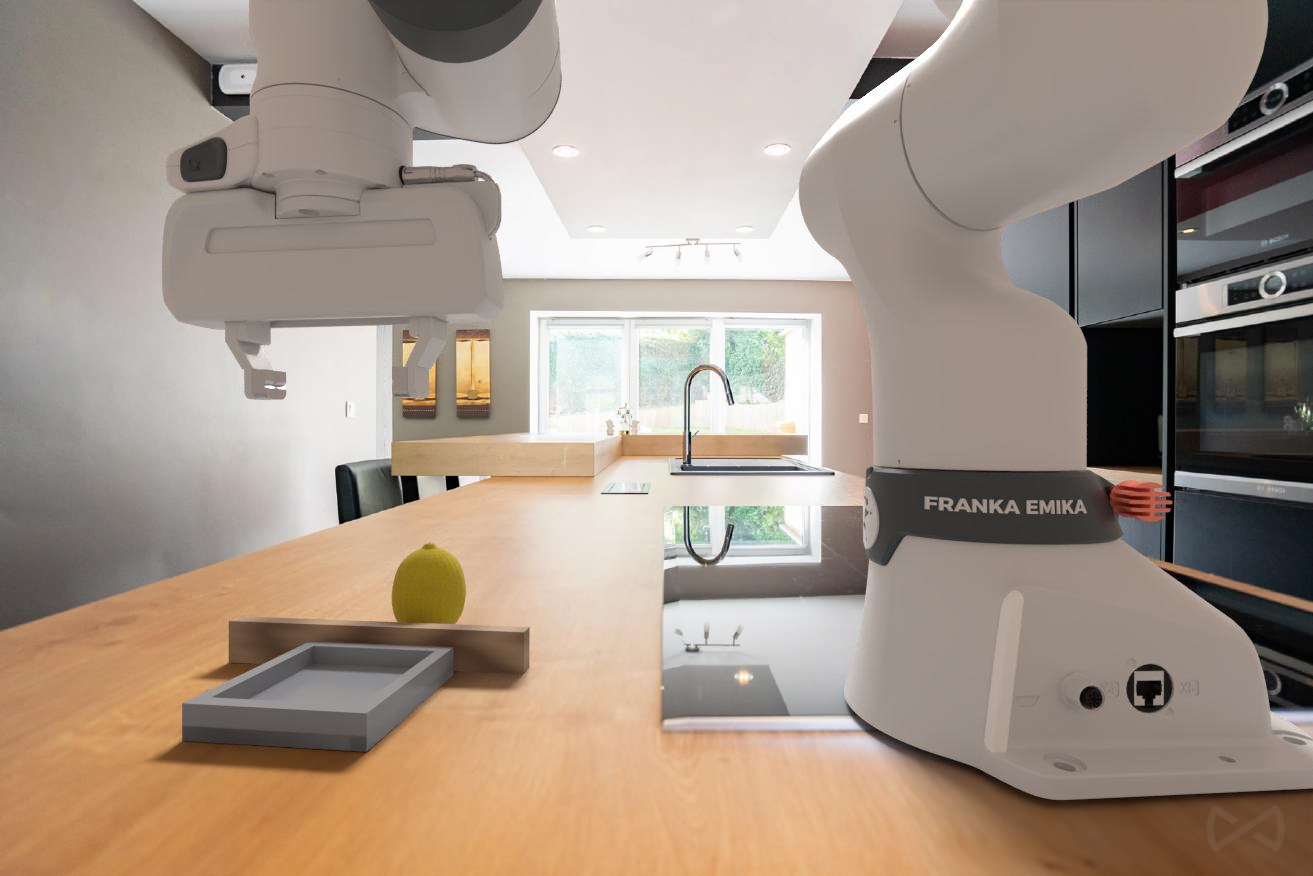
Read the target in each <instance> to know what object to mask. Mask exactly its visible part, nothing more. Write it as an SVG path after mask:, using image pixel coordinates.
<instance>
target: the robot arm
mask: <svg viewBox="0 0 1313 876" xmlns="http://www.w3.org/2000/svg"><path fill="white" fill-rule="evenodd" d="M932 1H933V3H934V4H935V6H936V8H937V9H938V10H939V12H941V14H943V16H945V18H947V19H948V20H949V21H950V22H951V23H950V24H949V26H948V27H947V28H946V29H945V30H944V32H943V34H942V35H941V36H940V37H939V39H937V41H936V42H935V43H933V44H932V45H931V46H930V47H928V48H927V49H926V50H925V51H924V52H923V53H922V54H921V55H920V56H918V57H917V58H915V59H914V60H913V61H911V62H909V63H908V64H907V65H906V66H904V67H903V68H902V69H900V70H899V71H898V72H896V73H894V75H892V76H890V77H889V78H888V79H886V80H885V81H884V82H882V83H881V84H880V85H878V86H877V87H875V88H874V89H872V90H871V91H870V92H868V93H867V94H866V95H865V96H863V97H862V98H860V99H859V100H857V101H856V102H855V103H853V104H852V105H851V106H849V108H847V110H845V111H844V113H842V115H840V117H839V119H837V120H836V122H835V123H834V124H833V125H832V126H831V128H830V129H828V131H827V132H826V133H825V134H824V136H823V137H822V138H821V139H820V141H818V143H817V144H816V146H815V147H814V148H813V149H812V150H811V152H810V153H809V154H808V156H807V157H806V159H805V161H804V164H803V166H802V169H801V172H800V176H799V183H798V202H799V208H800V211H801V216H802V219H803V221H804V223H805V225H806V226H805V227H806V228H807V230H808V232H809V233H810V235H811V237H812V238H813V240H814V241H815V242H816V243H817V244H818V245H819V247H820V248H821V250H823V251H825V252H826V253H827V254H829V255H830V256H831V257H833V258H835V260H836V261H838V262H839V263H840V264H841V265H842V267H843V268H844V269H845V271H846V273H847V275H848V276H849V278H850V280H851V283H852V285H853V288H854V290H855V292H856V295H857V298H858V301H859V304H860V307H861V311H862V314H863V318H864V322H865V326H866V331H867V338H868V343H869V351H870V364H871V365H870V366H871V369H870V370H871V398H872V399H871V400H872V465H868V467H867V468H866V469H865V484H864V487H863V490H862V493H863V494H862V495H863V496H862V541H863V547H864V549H865V550H864V551H865V554H866V555H865V556H866V557H867V558H868V570H867V580H866V589H865V596H864V597H865V598H864V604H863V612H862V617H861V622H860V628H859V634H858V637H857V638H858V640H857V642H856V643H857V644H856V647H855V651H854V656H853V658H852V659H853V660H852V662H851V666H850V670H849V674H848V676H847V679H846V682H845V684H844V689H843V695H844V699H845V701H846V703H847V704H848V706H849V707H850V708H851V710H852V712H855V714H856V715H857V716H859V717H860V718H861V719H862V720H863V721H865V722H866V723H868V724H869V725H871V726H872V727H874V728H875V729H877V730H879V731H880V732H882V733H884V734H886V735H888V736H890V737H892V738H894V739H896V740H898V741H900V742H903V743H905V744H907V745H910V746H913V747H915V748H918V749H920V750H923V751H925V752H929V753H932V754H934V755H938V756H941V757H944V758H947V759H949V760H954V761H957V762H960V763H962V764H966V765H969V766H972V767H974V768H976V769H978V770H981V771H983V772H984V773H986V774H988V775H990V776H991V777H994V778H996V779H998V780H999V781H1001V782H1003V783H1006V784H1007V785H1010V786H1012V787H1013V788H1016V789H1018V790H1020V791H1022V792H1025V793H1027V794H1030V795H1031V796H1032V795H1033V796H1035V797H1038V798H1043V799H1047V800H1056V801H1066V800H1067V801H1070V800H1088V799H1089V800H1090V799H1091V800H1092V799H1115V798H1133V797H1134V798H1136V797H1155V796H1159V797H1160V796H1175V795H1176V796H1177V795H1197V794H1198V795H1199V794H1219V793H1220V794H1221V793H1222V794H1224V793H1239V792H1240V793H1241V792H1242V793H1243V792H1244V793H1245V792H1260V791H1261V792H1262V791H1263V792H1264V791H1282V790H1302V789H1303V790H1306V789H1307V790H1308V789H1313V736H1312V735H1310V734H1309V733H1307V732H1306V731H1305V730H1303V729H1301V728H1300V727H1298V726H1297V725H1295V724H1293V723H1292V722H1290V721H1289V720H1287V719H1285V718H1283V716H1282V717H1281V716H1280V715H1278V714H1276V713H1275V712H1273V711H1271V709H1270V708H1271V707H1270V702H1269V694H1268V688H1267V684H1266V679H1265V674H1264V671H1263V666H1262V664H1261V660H1260V657H1259V654H1258V652H1257V650H1256V647H1255V645H1254V643H1253V641H1252V640H1251V638H1250V637H1249V636H1248V635H1247V633H1246V632H1245V630H1244V629H1243V628H1242V627H1241V626H1240V625H1238V624H1237V623H1236V622H1235V621H1234V620H1233V619H1232V618H1230V617H1229V616H1227V615H1226V614H1225V613H1223V612H1222V611H1221V610H1219V609H1217V608H1216V607H1215V606H1213V605H1212V604H1211V603H1209V602H1207V601H1206V600H1205V599H1204V598H1203V597H1202V596H1199V595H1198V594H1197V593H1195V592H1194V591H1192V590H1191V589H1189V588H1188V587H1187V586H1186V585H1185V584H1183V583H1182V582H1180V581H1178V580H1177V579H1176V578H1175V577H1173V576H1172V575H1170V574H1169V573H1168V572H1166V571H1164V570H1163V569H1162V568H1160V567H1159V566H1158V565H1156V564H1155V563H1154V562H1153V561H1152V560H1150V559H1149V558H1147V557H1146V556H1145V555H1143V554H1141V553H1140V552H1139V551H1138V550H1136V549H1135V548H1134V547H1133V546H1131V545H1130V544H1128V543H1127V542H1125V541H1123V540H1122V539H1121V537H1123V536H1124V531H1123V529H1122V527H1121V525H1120V522H1119V518H1120V517H1119V516H1121V517H1123V518H1128V519H1137V520H1140V521H1142V522H1147V523H1154V522H1158V521H1159V522H1160V521H1162V520H1163V519H1165V518H1166V516H1165V515H1158V514H1155V513H1170V512H1171V509H1172V508H1170V507H1169V508H1168V507H1161V506H1156V505H1173V500H1168V499H1160V498H1156V497H1171V496H1172V495H1171V493H1170V492H1169V491H1168V492H1167V491H1158V490H1157V491H1156V490H1155V489H1166V487H1165V486H1164V485H1163V484H1160V483H1157V482H1153V481H1137V480H1131V479H1128V480H1123V481H1121V482H1119V483H1117V484H1114V483H1112V482H1111V481H1109V480H1108V479H1106V478H1105V477H1103V476H1101V475H1099V474H1097V473H1095V472H1093V471H1092V470H1090V469H1087V467H1088V466H1087V465H1088V464H1087V462H1088V461H1087V459H1088V458H1087V453H1088V452H1087V451H1088V450H1087V445H1088V443H1087V441H1088V438H1087V435H1088V433H1087V432H1088V431H1087V430H1088V429H1087V427H1088V424H1087V421H1088V420H1087V419H1088V418H1087V417H1088V415H1087V413H1088V411H1087V409H1088V403H1087V401H1088V399H1087V397H1088V394H1087V393H1088V392H1087V391H1088V344H1087V341H1086V338H1085V336H1084V333H1083V331H1082V328H1081V327H1080V325H1078V322H1076V320H1075V319H1074V317H1072V316H1071V314H1069V313H1068V311H1066V310H1065V309H1064V308H1062V307H1061V306H1060V305H1059V304H1057V303H1056V302H1054V301H1052V300H1050V299H1048V298H1046V297H1044V296H1041V295H1039V294H1037V293H1034V292H1031V291H1028V290H1026V289H1023V288H1020V287H1017V286H1015V285H1014V284H1013V283H1012V281H1011V280H1010V278H1009V275H1008V272H1007V270H1006V267H1005V264H1004V260H1003V254H1002V249H1001V248H1002V247H1001V246H1002V245H1001V243H1002V242H1001V240H1002V234H1003V230H1004V228H1005V226H1007V225H1010V224H1012V223H1015V222H1018V221H1021V220H1024V219H1026V218H1030V217H1032V216H1035V215H1038V214H1041V213H1045V212H1046V211H1050V210H1052V209H1055V208H1059V207H1061V206H1063V205H1067V204H1070V203H1072V202H1076V201H1079V200H1081V199H1085V198H1087V197H1090V196H1093V195H1096V194H1099V193H1102V192H1104V191H1108V190H1110V189H1112V188H1114V187H1118V186H1119V185H1121V184H1122V183H1124V182H1127V181H1128V180H1130V179H1132V178H1134V177H1136V176H1137V175H1139V174H1140V173H1143V172H1144V171H1146V170H1149V169H1150V168H1152V167H1154V166H1156V165H1158V164H1159V163H1161V162H1163V161H1165V160H1167V159H1168V158H1170V157H1172V156H1174V155H1175V154H1178V153H1179V152H1181V151H1182V150H1184V149H1185V148H1187V147H1189V146H1191V145H1193V144H1194V143H1196V142H1198V141H1199V140H1201V139H1203V138H1204V137H1206V136H1208V135H1209V134H1212V133H1214V132H1215V131H1216V130H1218V129H1219V128H1220V127H1222V126H1223V125H1225V123H1226V122H1227V121H1228V120H1229V118H1231V116H1232V115H1233V114H1234V112H1235V111H1236V109H1237V108H1238V106H1239V105H1240V103H1241V102H1242V100H1243V98H1244V96H1245V95H1246V93H1247V92H1248V89H1249V87H1250V85H1251V84H1252V81H1253V79H1254V78H1255V75H1256V73H1257V70H1258V67H1259V65H1260V62H1261V59H1262V57H1263V53H1264V48H1265V43H1266V39H1267V34H1268V24H1269V7H1268V0H932ZM248 22H249V23H248V24H249V27H248V29H249V34H250V39H251V42H252V44H253V48H254V51H255V54H256V61H257V69H256V75H255V78H254V81H253V84H252V87H251V89H250V93H249V114H247V115H245V116H244V115H243V116H242V117H239V118H238V119H237V120H234V121H233V122H232V123H230V124H229V125H227V126H225V127H223V128H222V129H220V130H217V131H216V132H214V133H212V134H210V135H207V136H206V137H203V138H202V139H199V140H196V141H194V142H192V143H189V144H187V145H185V146H182V147H179V148H178V149H175V150H174V151H172V152H171V153H169V155H168V156H167V158H166V161H165V175H166V176H165V177H166V181H167V183H168V185H169V186H171V187H172V188H174V189H175V190H177V191H179V192H181V193H183V195H181V196H180V197H178V198H177V199H176V200H175V201H174V202H173V203H172V204H171V206H170V207H169V209H168V210H167V212H166V216H165V220H164V224H163V234H162V247H161V248H162V249H161V254H162V255H161V285H162V286H161V288H162V289H161V290H162V298H163V302H164V305H165V306H166V308H167V309H168V311H169V312H170V313H171V315H172V316H173V317H174V319H175V320H177V321H178V322H180V323H182V324H186V325H190V326H191V325H192V326H195V327H200V328H205V329H211V330H218V331H221V330H222V331H223V330H224V335H225V336H224V339H225V341H224V342H225V343H226V345H227V347H228V348H229V350H230V351H231V353H232V355H233V357H234V358H235V360H236V362H237V363H238V365H239V367H240V368H241V370H243V381H244V382H243V383H244V385H243V386H244V388H243V389H244V390H243V392H244V396H245V397H246V398H247V399H248V400H253V401H256V400H258V401H278V400H279V401H280V400H284V399H285V398H286V397H287V389H286V387H285V385H286V384H287V372H286V371H280V370H275V369H274V367H273V366H272V364H271V361H270V359H269V357H268V355H267V354H266V352H265V350H264V346H270V345H271V340H272V333H271V331H272V329H291V328H292V329H294V328H295V329H296V328H297V329H298V328H303V329H304V328H331V327H332V328H333V327H368V326H369V327H372V326H373V327H374V326H375V327H376V326H379V327H380V326H408V335H409V336H410V337H411V338H414V339H416V342H415V344H414V346H413V348H412V350H411V352H410V354H409V356H408V359H407V360H406V363H405V364H404V366H391V378H392V380H393V383H392V385H391V390H392V395H393V396H394V397H395V398H399V399H400V398H402V399H427V398H428V397H429V395H430V370H432V368H433V367H434V365H435V364H436V362H437V360H438V358H439V357H440V354H441V353H442V352H443V350H444V348H445V346H446V344H447V342H448V324H452V325H453V324H481V323H482V324H487V323H492V322H493V321H494V320H495V319H496V318H497V317H498V316H499V314H500V312H501V311H502V310H503V307H504V305H505V293H504V292H505V291H504V289H505V288H504V278H503V268H502V261H501V256H500V249H499V243H498V238H497V235H496V234H497V233H498V231H499V229H500V226H501V222H502V192H501V189H500V186H499V184H498V183H497V181H496V180H495V179H494V178H493V176H491V175H490V174H488V173H486V172H485V171H484V172H483V171H481V170H478V167H477V166H476V165H474V164H469V163H457V164H453V165H452V166H435V165H425V166H424V165H423V166H414V153H413V152H414V136H413V135H414V131H413V130H414V128H415V129H418V130H420V131H422V132H426V133H430V134H433V135H438V136H442V137H446V138H449V139H450V138H451V139H455V140H456V139H457V140H462V141H466V142H473V143H477V144H479V143H480V144H486V145H506V144H507V145H508V144H511V143H515V142H518V141H520V140H522V139H523V140H524V139H525V138H527V137H529V136H530V135H532V134H534V133H535V132H536V131H539V129H540V128H541V127H542V126H543V125H544V124H545V123H546V122H547V121H548V120H549V118H550V117H551V115H552V114H553V112H554V110H555V108H556V107H557V104H558V101H559V99H560V94H561V89H562V81H563V80H562V79H563V78H562V68H561V67H562V65H561V43H560V41H561V40H560V33H559V23H558V12H557V0H248ZM479 179H481V180H479Z"/></svg>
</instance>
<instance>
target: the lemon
mask: <svg viewBox="0 0 1313 876" xmlns="http://www.w3.org/2000/svg"><path fill="white" fill-rule="evenodd" d="M393 578H394V579H393V583H392V588H391V589H392V590H391V607H392V612H393V616H394V618H395V622H407V623H434V624H457V623H458V621H459V620H460V618H461V616H462V613H463V611H464V609H465V603H466V595H467V585H466V579H465V573H464V571H463V568H462V565H461V563H460V562H459V560H458V559H457V557H455V555H453V554H452V553H451V552H450V551H448V550H446V549H444V548H442V547H438V546H437V545H436V544H435V542H427V543H424V544H423V546H422V547H420V548H417V549H416V550H414V551H412V552H411V553H409V554H408V555H407V556H406V557H405V558H404V559H403V560H402V561H401V562H400V564H399V565H398V567H397V570H396V572H395V575H394V577H393Z"/></svg>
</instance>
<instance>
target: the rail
mask: <svg viewBox="0 0 1313 876" xmlns="http://www.w3.org/2000/svg"><path fill="white" fill-rule="evenodd" d="M530 631H531V629H530V626H510V625H509V626H507V625H485V624H484V625H483V624H458V623H456V624H434V623H407V622H397V621H380V620H378V621H376V620H374V621H372V620H354V619H353V620H351V619H349V620H348V619H324V618H323V619H321V618H319V619H318V618H295V617H272V616H271V617H270V616H267V617H266V616H265V617H264V616H246V615H245V616H243V615H241V616H238V617H236V618H234V619H231V620H229V621H228V663H232V664H250V665H251V664H253V665H255V664H256V665H262V664H264V663H266V662H268V661H270V660H272V659H274V658H277V657H279V656H281V655H283V654H285V653H287V652H289V651H291V650H293V649H295V648H297V647H299V646H301V645H303V644H305V643H307V642H309V641H316V642H340V643H364V644H389V645H413V646H437V647H454V656H453V672H469V673H472V672H473V673H496V674H499V673H500V674H525V673H526V672H527V671H528V669H530V637H531V635H530V633H531V632H530Z"/></svg>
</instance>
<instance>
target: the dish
mask: <svg viewBox="0 0 1313 876" xmlns="http://www.w3.org/2000/svg"><path fill="white" fill-rule="evenodd" d="M453 656H454V647H437V646H413V645H389V644H364V643H340V642H316V641H309V642H307V643H305V644H303V645H301V646H299V647H297V648H295V649H293V650H291V651H289V652H287V653H285V654H283V655H281V656H279V657H277V658H274V659H272V660H270V661H268V662H266V663H264V664H259V665H258V666H256V667H254V668H252V669H250V670H248V671H246V672H244V673H242V674H240V675H237V676H236V677H233V678H231V679H229V680H227V681H226V682H223V683H221V684H219V685H217V686H215V687H213V688H211V689H209V690H207V691H205V692H203V693H200V694H198V695H197V696H194V697H192V698H190V699H188V700H186V701H184V702H183V703H181V718H182V719H181V741H183V742H196V743H197V742H199V743H213V744H214V743H216V744H231V745H247V746H265V747H277V748H279V747H281V748H297V749H314V750H328V751H330V750H331V751H344V752H345V751H346V752H347V751H348V752H361V753H367V752H368V751H369V750H371V749H372V748H373V747H374V746H375V745H377V743H378V742H380V741H381V740H382V739H383V738H385V737H386V736H387V735H388V734H389V733H390V732H391V731H393V730H394V729H395V728H396V727H397V726H398V725H399V724H401V723H402V722H403V721H404V720H405V719H406V718H408V717H409V716H410V715H411V714H412V713H414V711H415V710H417V709H418V708H419V707H420V706H421V705H422V704H423V703H424V702H425V701H426V700H427V699H428V698H430V697H431V696H432V695H433V694H434V693H436V692H437V690H439V688H441V686H443V685H444V684H445V683H446V682H447V681H448V680H449V679H451V678H452V677H453V676H454V671H453Z"/></svg>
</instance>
